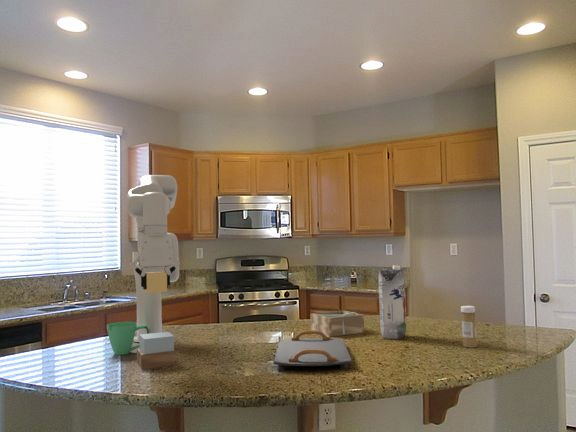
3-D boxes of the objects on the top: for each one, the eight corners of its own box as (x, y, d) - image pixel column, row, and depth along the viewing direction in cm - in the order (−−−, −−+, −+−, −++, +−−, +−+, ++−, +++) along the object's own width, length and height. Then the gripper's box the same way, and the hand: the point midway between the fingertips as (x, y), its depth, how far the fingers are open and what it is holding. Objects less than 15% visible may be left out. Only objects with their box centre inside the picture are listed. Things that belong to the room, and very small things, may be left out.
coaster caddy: (310, 330, 201) (310, 313, 201) (343, 326, 208) (343, 310, 208) (329, 336, 186) (329, 318, 187) (364, 332, 193) (363, 314, 194)
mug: (103, 357, 161) (103, 326, 162) (111, 350, 171) (111, 322, 172) (147, 355, 163) (147, 325, 163) (153, 348, 172) (153, 320, 173)
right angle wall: (357, 330, 199) (355, 312, 199) (343, 334, 189) (342, 315, 190) (331, 329, 205) (330, 312, 206) (317, 333, 195) (316, 314, 196)
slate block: (139, 348, 153) (139, 334, 153) (167, 345, 157) (167, 331, 157) (144, 354, 145) (144, 339, 145) (174, 350, 149) (174, 336, 149)
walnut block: (136, 363, 153) (136, 348, 153) (168, 359, 157) (168, 345, 157) (141, 370, 144) (141, 354, 144) (175, 365, 148) (174, 351, 148)
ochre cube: (144, 291, 153) (144, 272, 154) (163, 290, 156) (163, 271, 156) (147, 293, 148) (147, 273, 148) (167, 291, 150) (166, 272, 151)
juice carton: (379, 339, 179) (376, 266, 180) (384, 334, 189) (382, 265, 190) (403, 340, 176) (400, 266, 177) (407, 335, 185) (404, 264, 187)
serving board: (354, 374, 134) (353, 351, 134) (271, 375, 134) (270, 353, 135) (343, 345, 172) (342, 327, 172) (278, 346, 173) (278, 329, 173)
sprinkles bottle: (479, 346, 161) (477, 306, 162) (471, 348, 159) (469, 307, 160) (468, 344, 165) (466, 305, 166) (459, 346, 163) (457, 306, 164)
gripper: (128, 231, 146) (128, 291, 145) (184, 230, 153) (185, 287, 152) (125, 232, 153) (125, 289, 152) (179, 231, 160) (180, 286, 159)
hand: (155, 287), depth 152 cm, fingers closed on ochre cube, 6 cm apart
